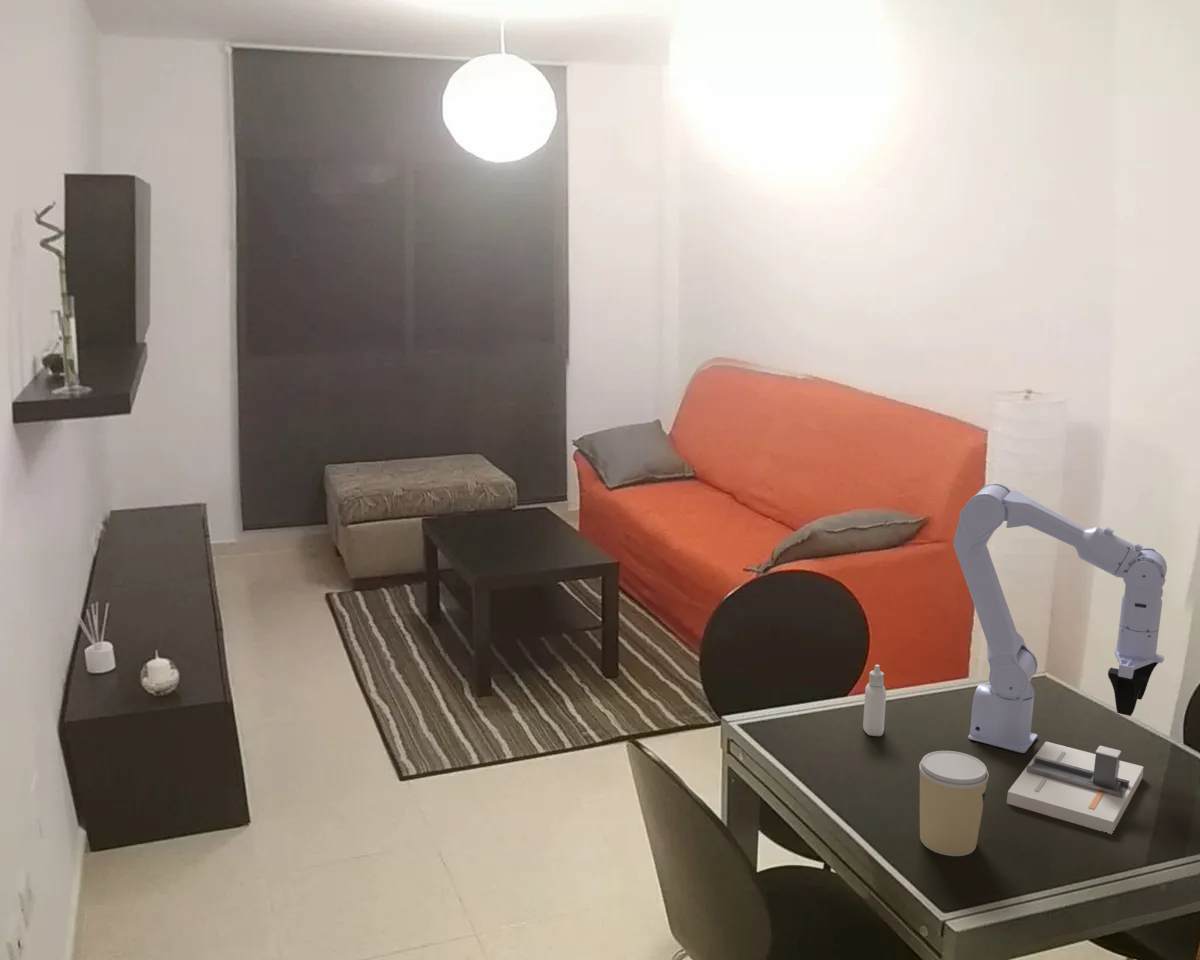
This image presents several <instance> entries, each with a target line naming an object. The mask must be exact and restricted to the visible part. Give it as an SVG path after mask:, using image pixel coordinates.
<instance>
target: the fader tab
mask: <svg viewBox="0 0 1200 960" xmlns="http://www.w3.org/2000/svg"><path fill="white" fill-rule="evenodd" d="M1121 753H1122V751H1121V750H1120V749H1116V748H1112V747H1107V746H1103V745H1099V746H1098V747H1097V749H1096V750H1095V754H1096V757H1095V766H1094V775H1093V776H1092V778H1091V779H1090V781H1089V782H1092V783H1095V784H1099V785H1103V786H1106V787H1110V788H1114V789H1117V790H1118V789H1119V788H1120V784H1121V783H1120V782H1117V779H1118V771H1119V762H1120V761H1121Z"/></svg>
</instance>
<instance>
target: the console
mask: <svg viewBox="0 0 1200 960" xmlns="http://www.w3.org/2000/svg"><path fill="white" fill-rule="evenodd" d="M1095 757H1096V753H1093V752H1088V751H1085V750H1081V749H1078V748H1074V747H1068V746H1065V745H1062V744H1057V743H1053V742H1050V741H1044V743H1043V744H1042V746H1041V747H1040V749H1039V750H1038V751H1037V753H1036V754H1035V755H1034V756H1033V757H1032V759H1031V760H1030V762H1029V763H1028V765H1026V767H1025V768H1024V769H1023V771H1022V772H1021V774H1020V775H1019V776H1018V777H1017V779H1016V780H1015V781H1014V783H1013V784H1012V785H1011V786H1010V788H1009V789H1008V791H1007V797H1006V804H1008V805H1011V806H1014V807H1017V808H1021V809H1023V810H1024V809H1025V810H1027V811H1032V812H1035V813H1039V814H1041V815H1045V816H1048V817H1051V818H1055V819H1057V820H1062V821H1065V822H1069V823H1072V824H1074V825H1075V824H1076V825H1078V826H1083V827H1086V828H1088V829H1092V830H1095V831H1099V832H1102V831H1103V832H1102V833H1105V832H1107V833H1106V834H1109V835H1113V834H1112V833H1114V832H1113V831H1115V829H1116V827H1117V826H1118V825H1119V822H1120V821H1121V818H1122V817H1123V815H1124V812H1125V811H1126V809H1127V808H1128V806H1129V804H1130V802H1131V800H1132V798H1133V796H1134V794H1135V792H1136V791H1137V788H1139V785H1140V784H1141V781H1142V779H1143V775H1144V766H1142V765H1139V764H1135V763H1131V762H1127V761H1125V760H1124V761H1123V760H1120V762H1119V771H1118V779H1117V782H1120V783H1121V784H1120V788H1119V789H1118V790H1117V789H1114V788H1110V787H1106V786H1103V785H1099V784H1095V783H1092V782H1089V781H1090V779H1091V778H1092V776H1093V775H1094V766H1095Z"/></svg>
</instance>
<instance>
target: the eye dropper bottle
mask: <svg viewBox="0 0 1200 960" xmlns="http://www.w3.org/2000/svg"><path fill="white" fill-rule="evenodd" d="M884 677H885V673H884V672H883V671H881V669H880V664H875V665H874V668H873V670H871V671H869V677H868V680H869V681H868V683H867V684H866V686H865V690H864V702H863V703H864V704H863V705H864V706H863V708H864V709H863V724H862V729H863V731H864V732H865V733H866V734H867V735H868V736H870V737H871V736H872V737H881V736H883V734H884V730H885V717H886V701H887V700H886V699H887V691H886V688H885V686H884V681H885V679H884Z"/></svg>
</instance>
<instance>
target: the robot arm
mask: <svg viewBox="0 0 1200 960" xmlns="http://www.w3.org/2000/svg"><path fill="white" fill-rule="evenodd" d="M1004 522H1006V529H1011V528H1018V527H1025V526H1027V527H1030V528H1032V529H1034V530H1037V531H1040V532H1041V533H1044V534H1046V535H1048V536H1050V537H1053V538H1054V539H1057V540H1059V541H1061V542H1063V543H1066V544H1068V545H1070V546H1072V547H1074V548H1075V550H1076V552H1077V555H1078V558H1079V559H1080V560H1083V561H1085V562H1086V563H1089V564H1091V565H1092V566H1095V567H1096V568H1098V569H1101V570H1103V571H1104V572H1106V573H1108V574H1110V575H1112V576H1114V577H1116V578H1121V579H1123V582H1124V584H1125V586H1124V593H1123V595H1122V598H1121V606H1120V615H1119V623H1118V625H1119V626H1118V632H1117V640H1116V647H1115V649H1114V656H1115V658H1116V661H1117V663H1118V668H1114V667H1110V668H1109V669H1108V671H1107V676H1108V679H1109V682H1110V683H1111V685H1112V689H1113V693H1114V701H1115V707H1116V712H1117V714H1119V715H1120V714H1121V715H1124V716H1127V717H1128V716H1129V717H1130V716H1132V715H1133V714H1134V712H1135V708H1136V704H1137V702H1138V700H1140V701H1141V700H1142V699H1143V697H1144V695H1145V692H1146V690H1147V687H1148V683H1149V682H1150V681H1149V680H1150V678H1151V676H1152V673H1153V671H1154V669H1155V668H1156V667H1157V665H1158V664H1162V663H1163V662H1164V661H1165V656H1164V655H1162V654H1158V653H1157V650H1158V641H1159V631H1160V625H1161V624H1160V623H1161V616H1162V607H1163V600H1162V597H1163V595H1164V589H1163V587H1164V585H1165V582H1166V576H1167V571H1168V570H1167V569H1168V566H1167V562H1166V560H1165V558H1164V557H1163V555H1162V554H1161V553H1160V552H1158V551H1156V550H1155V549H1154V548H1151V547H1144V545H1143V544H1140V543H1136V544H1134V543H1131V542H1129V541H1127V540H1125V539H1123V538H1121V537H1120V536H1117V535H1116V534H1113V533H1114V529H1112V528H1110V527H1108V526H1106V527H1104V529H1103V528H1101V527H1099V526H1094V527H1091V528H1089V527H1088V528H1084V527H1083V526H1082V525H1081V526H1080V525H1079V524H1077V523H1075V522H1074V521H1072V520H1069V519H1068V518H1066V517H1064V516H1063V515H1061V514H1060V513H1058V512H1055V511H1054V510H1052V509H1050V508H1048V507H1047V506H1045V505H1043V504H1041V503H1040V502H1037V501H1036V500H1035V499H1032V498H1031V497H1029V496H1028V495H1025V494H1024V493H1022V492H1021V491H1018V490H1015V489H1011V490H1010V489H1009V487H1007V486H1005V485H1004V484H1001V483H997V482H996V483H995V482H994V483H993V482H992V483H987V484H986V485H984V486H983V487H981V488H980V489H979V490H978V491H977V492H976V494H975V495H973V496H971V498H970V499H969V500H967V502H966V504H965V505H964V506H963V508H962V509H961V510H960V511H959V519H958V524H957V527H956V530H955V534H954V537H953V542H952V544H953V549H954V552H955V554H956V558H957V560H958V563H959V566H960V570H961V571H962V575H963V577H964V579H965V583H966V586H967V588H968V591H969V594H970V597H971V600H972V603H973V605H974V608H975V611H976V615H977V617H978V620H979V623H980V626H981V629H982V631H983V634H984V637H985V640H986V642H987V643H986V644H987V647H986V649H987V656H986V657H987V661H988V663H989V675H988V681H989V684H988V683H987V684H985V683H979V685H977V687H976V689H975V691H974V695H973V698H972V706H971V715H970V729H969V734H968V737H967V738H968V739H969V740H972V741H976V742H980V743H983V744H988V745H991V746H993V747H998V748H1002V749H1005V750H1009V751H1012V752H1016V753H1020V754H1026V753H1027V751H1028V750H1029V748H1031V746H1032V744H1033V743H1034V742H1035V741H1036V740H1037V739H1038V734H1037V733H1033V732H1032V724H1033V712H1034V702H1035V689H1034V687H1033V686H1032V683H1031V680H1032V678H1033V677H1034V676H1035V674H1036V672H1037V670H1038V660H1037V658H1036V656H1035V654H1034V653H1033V652H1032V651H1031V649H1029V647H1028V646H1027V645H1026V643H1025V640H1024V637H1023V636H1022V635H1021V634H1020V633H1018V631H1017V629H1016V626H1015V623H1014V621H1013V618H1012V614H1011V612H1010V609H1009V606H1008V603H1007V599H1006V598H1005V595H1004V592H1003V588H1002V586H1001V583H1000V581H999V578H998V577H999V576H998V573H997V571H996V569H995V566H994V563H993V560H992V558H991V553H990V550H989V548H988V546H987V545H988V542H989V540H990V539H991V537H992V536H993V534H994V532H995V531H996V530H997V529H998V528H999V527H1000V526H1002V525H1003V523H1004Z"/></svg>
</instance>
